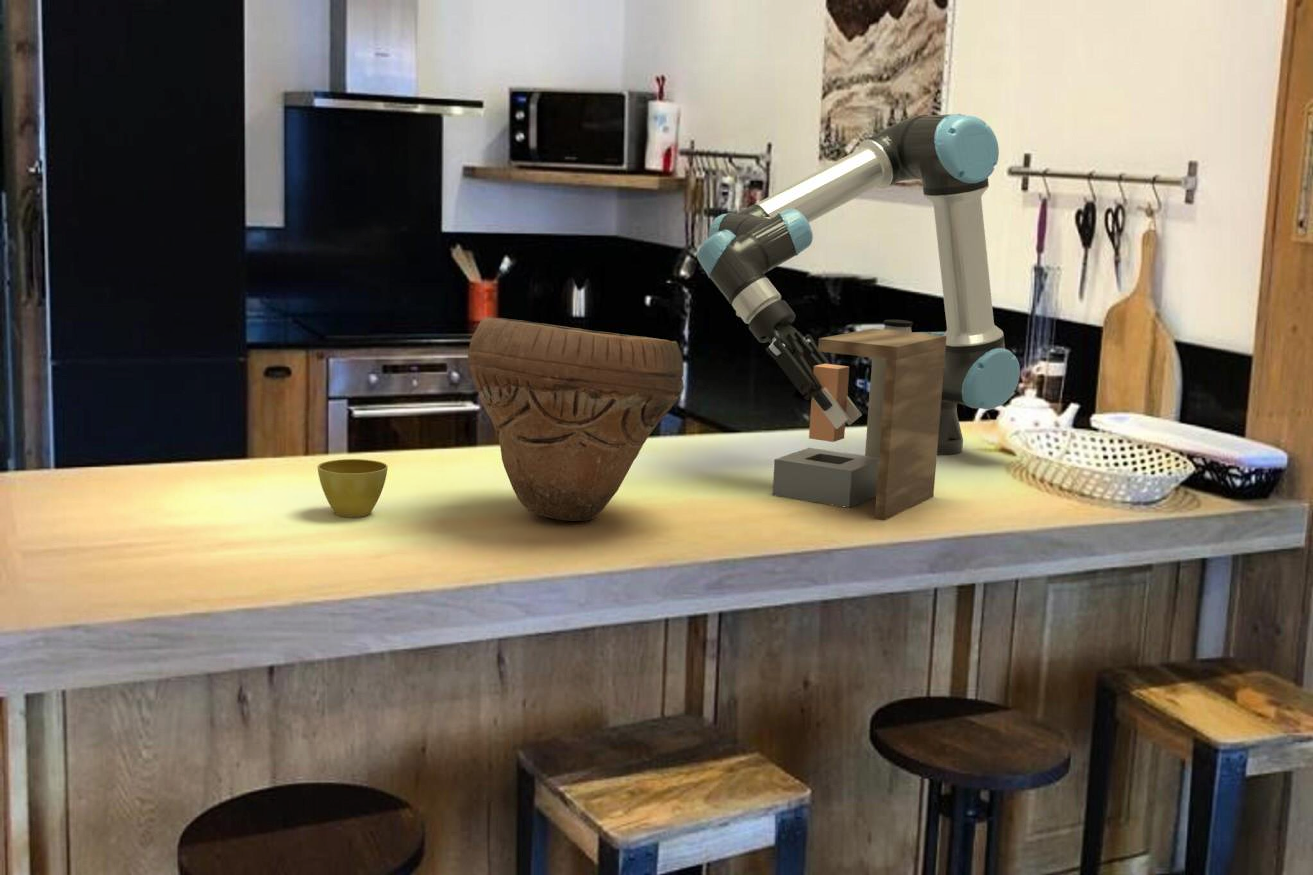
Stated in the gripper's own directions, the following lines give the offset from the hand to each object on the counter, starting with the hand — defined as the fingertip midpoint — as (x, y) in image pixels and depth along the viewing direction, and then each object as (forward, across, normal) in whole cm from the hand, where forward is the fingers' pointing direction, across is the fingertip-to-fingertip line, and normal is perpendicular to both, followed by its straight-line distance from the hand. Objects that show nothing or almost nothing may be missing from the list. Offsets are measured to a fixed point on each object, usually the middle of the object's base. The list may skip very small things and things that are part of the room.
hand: (849, 421), depth 242 cm
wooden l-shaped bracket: (+12, 0, -5) cm, 14 cm away
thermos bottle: (+9, -19, -9) cm, 23 cm away
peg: (0, 0, -5) cm, 5 cm away
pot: (-10, +40, -28) cm, 50 cm away
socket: (+7, 0, -11) cm, 13 cm away
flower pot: (-28, +61, -46) cm, 81 cm away
